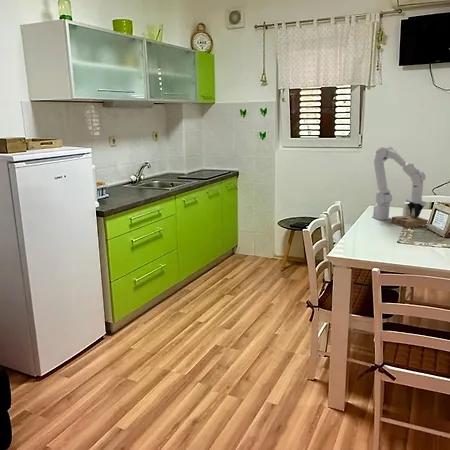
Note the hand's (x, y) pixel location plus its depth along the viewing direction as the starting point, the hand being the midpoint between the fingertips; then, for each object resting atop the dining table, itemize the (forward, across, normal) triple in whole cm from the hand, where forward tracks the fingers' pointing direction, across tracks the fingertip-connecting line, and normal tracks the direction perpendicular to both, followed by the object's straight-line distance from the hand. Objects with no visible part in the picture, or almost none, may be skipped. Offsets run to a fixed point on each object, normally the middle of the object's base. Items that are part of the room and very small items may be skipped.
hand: (414, 215), depth 255 cm
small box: (+5, -10, +6) cm, 12 cm away
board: (+5, 0, -4) cm, 6 cm away
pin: (+3, 0, 0) cm, 3 cm away
